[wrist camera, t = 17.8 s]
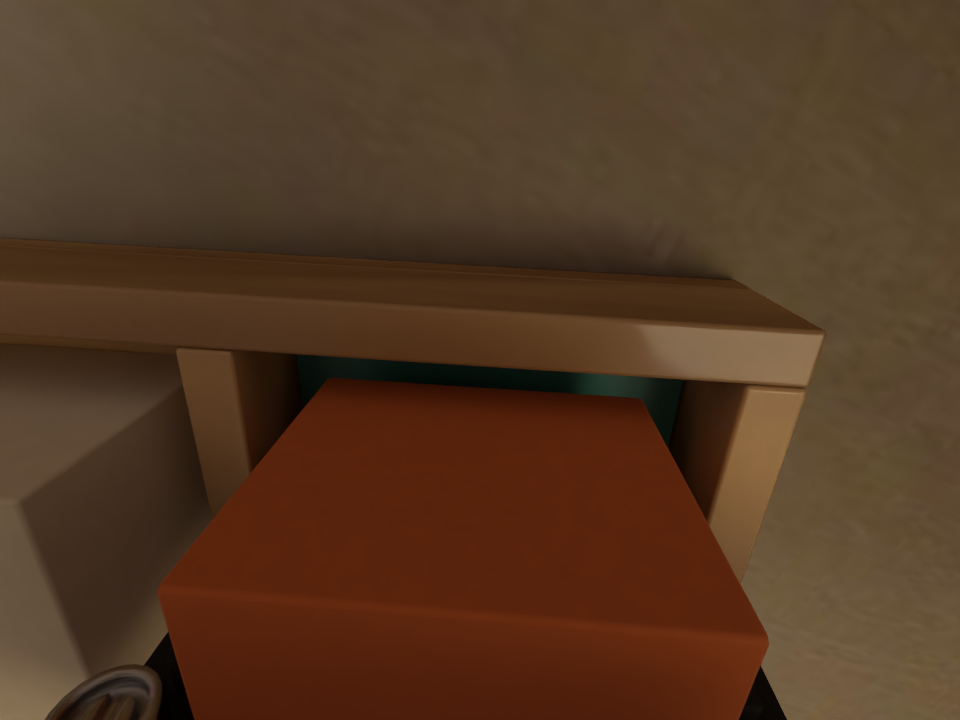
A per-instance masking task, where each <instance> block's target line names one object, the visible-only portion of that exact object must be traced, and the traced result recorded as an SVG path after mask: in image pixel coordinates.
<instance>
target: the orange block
mask: <svg viewBox="0 0 960 720" xmlns="http://www.w3.org/2000/svg"><path fill="white" fill-rule="evenodd" d="M157 595H158V598H159V602H160V605H161V609H162V612H163V615H164V619H165V622H166V625H167V629H168V632H169V636H170V639H171V642H172V646H173V649H174V653H175V656H176V659H177V663H178V666H179V669H180V673H181V676H182V680H183V683H184V686H185V690H186V693H187V697H188V700H189V703H190V707H191V710H192V713H193V717H194V720H739V718H740V715H741V713H742V710H743V708H744V705H745V703H746V700H747V698H748V695H749V693H750V690H751V688H752V685H753V683H754V680H755V678H756V675H757V673H758V670H759V668H760V666H761V663H762V661H763V658H764V656H765V653H766V651H767V648H768V646H769V642H768V636H767V633H766V632H765V630H764V628H763V626H762V624H761V622H760V620H759V618H758V617H757V615H756V613H755V611H754V609H753V607H752V605H751V603H750V602H749V600H748V598H747V596H746V594H745V592H744V590H743V588H742V587H741V585H740V583H739V581H738V579H737V577H736V575H735V573H734V571H733V570H732V568H731V566H730V564H729V562H728V560H727V558H726V556H725V555H724V553H723V551H722V549H721V547H720V545H719V543H718V541H717V540H716V538H715V536H714V534H713V532H712V530H711V528H710V526H709V525H708V523H707V521H706V519H705V517H704V515H703V513H702V511H701V510H700V508H699V506H698V504H697V502H696V500H695V498H694V496H693V495H692V493H691V491H690V489H689V487H688V485H687V483H686V481H685V480H684V478H683V476H682V474H681V472H680V470H679V468H678V466H677V465H676V463H675V461H674V459H673V457H672V455H671V453H670V451H669V450H668V448H667V446H666V444H665V442H664V440H663V438H662V436H661V435H660V433H659V431H658V429H657V427H656V425H655V423H654V421H653V420H652V418H651V416H650V414H649V412H648V410H647V408H646V406H645V405H644V403H643V401H642V399H639V398H630V397H615V396H600V395H585V394H570V393H555V392H540V391H525V390H510V389H495V388H480V387H465V386H450V385H435V384H420V383H405V382H390V381H375V380H360V379H345V378H329V379H327V380H326V382H325V383H324V384H323V385H322V386H321V388H320V389H319V390H318V391H317V393H316V394H315V395H314V396H313V397H312V399H311V400H310V401H309V402H308V404H307V405H306V406H305V407H304V409H303V410H302V411H301V412H300V413H299V415H298V416H297V417H296V418H295V420H294V421H293V422H292V423H291V424H290V426H289V427H288V428H287V429H286V431H285V432H284V433H283V434H282V435H281V437H280V438H279V439H278V440H277V442H276V443H275V444H274V445H273V446H272V448H271V449H270V450H269V451H268V453H267V454H266V455H265V456H264V457H263V459H262V460H261V461H260V462H259V464H258V465H257V466H256V467H255V468H254V470H253V471H252V472H251V473H250V475H249V476H248V477H247V478H246V479H245V481H244V482H243V483H242V484H241V486H240V487H239V488H238V489H237V490H236V492H235V493H234V494H233V495H232V497H231V498H230V499H229V500H228V501H227V503H226V504H225V505H224V506H223V508H222V509H221V510H220V511H219V512H218V514H217V515H216V516H215V517H214V519H213V520H212V521H211V522H210V523H209V525H208V526H207V527H206V528H205V530H204V531H203V532H202V533H201V534H200V536H199V537H198V538H197V539H196V541H195V542H194V543H193V544H192V545H191V547H190V548H189V549H188V550H187V552H186V553H185V554H184V555H183V557H182V558H181V559H180V560H179V561H178V563H177V564H176V565H175V566H174V568H173V569H172V570H171V571H170V572H169V574H168V575H167V576H166V577H165V579H164V580H163V581H162V582H161V583H160V585H159V588H158V591H157Z"/></svg>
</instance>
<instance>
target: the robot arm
mask: <svg viewBox="0 0 960 720" xmlns="http://www.w3.org/2000/svg"><path fill="white" fill-rule="evenodd" d="M45 720H194V717H193V713H192V710H191V707H190V703H189V700H188V697H187V693H186V690H185V686H184V683H183V680H182V676H181V673H180V669H179V666H178V663H177V659H176V656H175V653H174V649H173V646H172V642H171V639H170V636H169V632H167V634H166V635H165V636H164V638H163V639H162V641H161V642H160V643H159V645H158V646H157V648H156V649H155V650H154V652H153V653H152V655H151V656H150V657H149V659H148V660H147V661H146V663H145V664H144V665H138V664H130V665H121V666H117V667H114V668H111V669H108V670H105V671H102V672H100V673H98V674H96V675H94V676H93V677H91V678H89V679H87V680H85V681H84V682H82V683H81V684H79V685H78V686H77V687H75V688H74V689H73V690H72V691H70V692H69V693H68V694H67V695H65V696H64V697H63V698H62V699H61V700H60V701H59V702H58V704H57V705H56V706H55V707H54V708H53V709H52V710H51V711H50V712H49V714H48V715H47V717H46V719H45ZM739 720H787V719H786V717H785V715H784V713H783V711H782V709H781V707H780V705H779V702H778V700H777V698H776V696H775V694H774V692H773V690H772V688H771V686H770V684H769V682H768V680H767V678H766V676H765V674H764V672H763V670H762V668H761V666H760V668H759V670H758V673H757V675H756V678H755V680H754V683H753V685H752V688H751V690H750V693H749V695H748V698H747V700H746V703H745V705H744V708H743V710H742V713H741V715H740V718H739Z"/></svg>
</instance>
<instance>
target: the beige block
mask: <svg viewBox="0 0 960 720" xmlns="http://www.w3.org/2000/svg"><path fill="white" fill-rule="evenodd" d="M211 521H212V517H211V512H210V507H209V503H208V498H207V494H206V489H205V484H204V480H203V475H202V471H201V466H200V461H199V457H198V452H197V448H196V443H195V438H194V434H193V429H192V425H191V420H190V415H189V411H188V406H187V401H186V397H185V392H184V388H183V383H182V378H181V374H180V369H179V365H178V360H177V355H166V354H151V353H136V352H121V351H106V350H91V349H76V348H60V347H45V346H30V345H15V344H0V720H45V719H46V717H47V715H48V714H49V712H50V711H51V710H52V709H53V708H54V707H55V706H56V705H57V704H58V702H59V701H60V700H61V699H62V698H63V697H64V696H65V695H67V694H68V693H69V692H70V691H72V690H73V689H74V688H75V687H77V686H78V685H79V684H81V683H82V682H84V681H85V680H87V679H89V678H91V677H93V676H94V675H96V674H98V673H100V672H102V671H105V670H108V669H111V668H114V667H117V666H121V665H130V664H138V665H144V664H145V663H146V661H147V660H148V659H149V657H150V656H151V655H152V653H153V652H154V650H155V649H156V648H157V646H158V645H159V643H160V642H161V641H162V639H163V638H164V636H165V635H166V634H167V632H168V629H167V625H166V622H165V619H164V615H163V612H162V609H161V605H160V602H159V598H158V595H157V591H158V588H159V585H160V583H161V582H162V581H163V580H164V579H165V577H166V576H167V575H168V574H169V572H170V571H171V570H172V569H173V568H174V566H175V565H176V564H177V563H178V561H179V560H180V559H181V558H182V557H183V555H184V554H185V553H186V552H187V550H188V549H189V548H190V547H191V545H192V544H193V543H194V542H195V541H196V539H197V538H198V537H199V536H200V534H201V533H202V532H203V531H204V530H205V528H206V527H207V526H208V525H209V523H210V522H211Z"/></svg>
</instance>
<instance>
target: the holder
mask: <svg viewBox="0 0 960 720" xmlns="http://www.w3.org/2000/svg"><path fill="white" fill-rule="evenodd" d="M825 337H826V332H825V331H824V330H822V329H821V328H819V327H817V326H815V325H814V324H812V323H810V322H808V321H806V320H805V319H803V318H801V317H799V316H798V315H796V314H794V313H792V312H791V311H789V310H787V309H785V308H783V307H782V306H780V305H778V304H776V303H775V302H773V301H771V300H769V299H767V298H766V297H764V296H762V295H760V294H759V293H757V292H755V291H753V290H752V289H750V288H748V287H747V286H745V285H743V284H741V283H740V282H738V281H736V280H718V279H701V278H684V277H666V276H649V275H631V274H614V273H597V272H579V271H562V270H544V269H527V268H510V267H492V266H475V265H457V264H440V263H423V262H405V261H388V260H370V259H353V258H336V257H318V256H301V255H283V254H266V253H249V252H231V251H214V250H196V249H179V248H162V247H144V246H127V245H109V244H92V243H74V242H57V241H40V240H22V239H5V238H0V344H15V345H30V346H45V347H60V348H76V349H91V350H106V351H121V352H136V353H151V354H166V355H177V360H178V365H179V369H180V374H181V378H182V383H183V388H184V392H185V397H186V401H187V406H188V411H189V415H190V420H191V425H192V429H193V434H194V438H195V443H196V448H197V452H198V457H199V461H200V466H201V471H202V475H203V480H204V484H205V489H206V494H207V498H208V503H209V507H210V512H211V517H212V520H213V519H214V517H215V516H216V515H217V514H218V512H219V511H220V510H221V509H222V508H223V506H224V505H225V504H226V503H227V501H228V500H229V499H230V498H231V497H232V495H233V494H234V493H235V492H236V490H237V489H238V488H239V487H240V486H241V484H242V483H243V482H244V481H245V479H246V478H247V477H248V476H249V475H250V473H251V472H252V471H253V470H254V468H255V467H256V466H257V465H258V464H259V462H260V461H261V460H262V459H263V457H264V456H265V455H266V454H267V453H268V451H269V450H270V449H271V448H272V446H273V445H274V444H275V443H276V442H277V440H278V439H279V438H280V437H281V435H282V434H283V433H284V432H285V431H286V429H287V428H288V427H289V426H290V424H291V423H292V422H293V421H294V420H295V418H296V417H297V416H298V415H299V413H300V412H301V411H302V410H303V409H304V407H305V406H306V405H307V404H308V402H309V401H310V400H311V399H312V397H313V396H314V395H315V394H316V393H317V391H318V390H319V389H320V388H321V386H322V385H323V384H324V383H325V382H326V380H327V379H329V378H345V379H360V380H375V381H390V382H405V383H420V384H435V385H450V386H465V387H480V388H495V389H510V390H525V391H540V392H555V393H570V394H585V395H600V396H615V397H630V398H639V399H642V401H643V403H644V405H645V406H646V408H647V410H648V412H649V414H650V416H651V418H652V420H653V421H654V423H655V425H656V427H657V429H658V431H659V433H660V435H661V436H662V438H663V440H664V442H665V444H666V446H667V448H668V450H669V451H670V453H671V455H672V457H673V459H674V461H675V463H676V465H677V466H678V468H679V470H680V472H681V474H682V476H683V478H684V480H685V481H686V483H687V485H688V487H689V489H690V491H691V493H692V495H693V496H694V498H695V500H696V502H697V504H698V506H699V508H700V510H701V511H702V513H703V515H704V517H705V519H706V521H707V523H708V525H709V526H710V528H711V530H712V532H713V534H714V536H715V538H716V540H717V541H718V543H719V545H720V547H721V549H722V551H723V553H724V555H725V556H726V558H727V560H728V562H729V564H730V566H731V568H732V570H733V571H734V573H735V575H736V577H737V579H738V581H739V583H740V584H741V581H742V578H743V575H744V572H745V569H746V566H747V563H748V561H749V558H750V555H751V552H752V549H753V546H754V543H755V540H756V537H757V534H758V532H759V529H760V526H761V523H762V520H763V517H764V514H765V511H766V508H767V506H768V503H769V500H770V497H771V494H772V491H773V488H774V485H775V482H776V479H777V477H778V474H779V471H780V468H781V465H782V462H783V459H784V456H785V453H786V450H787V448H788V445H789V442H790V439H791V436H792V433H793V430H794V427H795V424H796V422H797V419H798V416H799V413H800V410H801V407H802V404H803V401H804V398H805V395H806V390H805V389H804V388H803V387H807V386H808V385H809V384H810V381H811V378H812V375H813V372H814V369H815V366H816V363H817V361H818V358H819V355H820V352H821V349H822V346H823V343H824V340H825Z"/></svg>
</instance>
